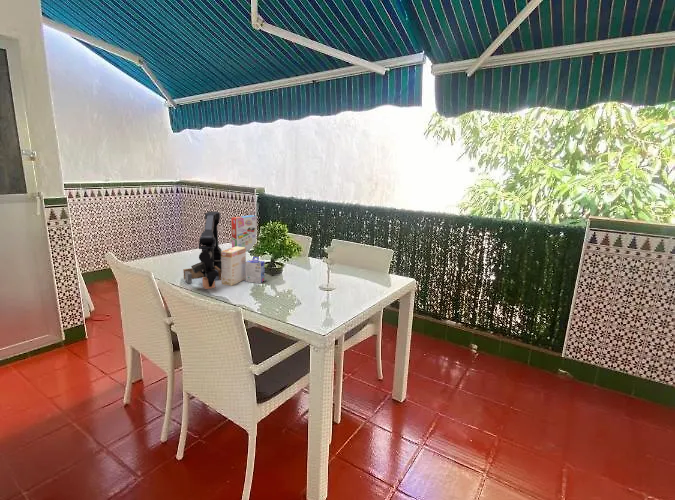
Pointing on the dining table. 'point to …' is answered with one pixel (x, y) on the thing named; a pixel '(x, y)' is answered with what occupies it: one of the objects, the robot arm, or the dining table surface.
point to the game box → (244, 231)
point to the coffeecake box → (233, 265)
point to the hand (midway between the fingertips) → (208, 285)
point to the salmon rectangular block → (206, 284)
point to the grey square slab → (188, 277)
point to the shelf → (199, 274)
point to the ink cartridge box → (255, 271)
